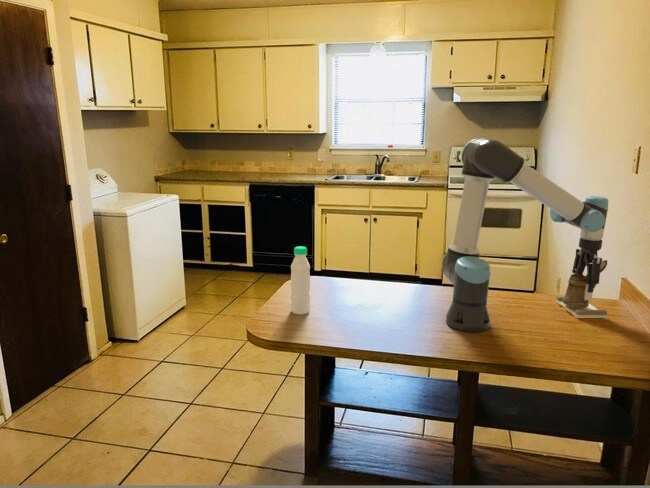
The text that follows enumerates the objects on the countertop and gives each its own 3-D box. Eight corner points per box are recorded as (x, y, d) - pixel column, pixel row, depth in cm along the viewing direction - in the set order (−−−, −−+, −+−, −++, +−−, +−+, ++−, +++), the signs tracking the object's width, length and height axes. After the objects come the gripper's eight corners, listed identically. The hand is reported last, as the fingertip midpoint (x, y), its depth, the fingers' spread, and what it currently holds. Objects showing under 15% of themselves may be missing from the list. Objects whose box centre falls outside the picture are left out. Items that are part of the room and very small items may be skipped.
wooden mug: (604, 309, 184) (613, 263, 180) (567, 307, 185) (574, 261, 181) (594, 301, 193) (602, 256, 188) (558, 298, 194) (565, 255, 189)
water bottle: (310, 308, 188) (311, 245, 181) (308, 315, 181) (308, 250, 175) (292, 307, 188) (292, 244, 182) (289, 314, 182) (289, 249, 175)
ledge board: (576, 318, 182) (578, 311, 181) (555, 303, 198) (556, 296, 197) (605, 318, 183) (607, 311, 182) (582, 303, 198) (583, 296, 197)
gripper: (617, 244, 173) (606, 305, 179) (586, 232, 193) (577, 287, 198) (596, 244, 173) (586, 305, 179) (567, 231, 192) (559, 287, 198)
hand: (582, 296), depth 189 cm, fingers closed on wooden mug, 7 cm apart
